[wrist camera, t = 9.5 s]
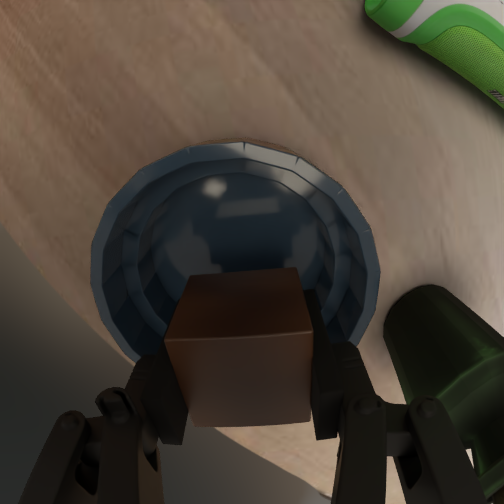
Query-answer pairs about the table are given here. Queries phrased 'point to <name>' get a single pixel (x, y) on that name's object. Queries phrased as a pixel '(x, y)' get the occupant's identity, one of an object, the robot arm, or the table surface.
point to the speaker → (452, 35)
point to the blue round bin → (229, 237)
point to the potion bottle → (454, 373)
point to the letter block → (243, 348)
